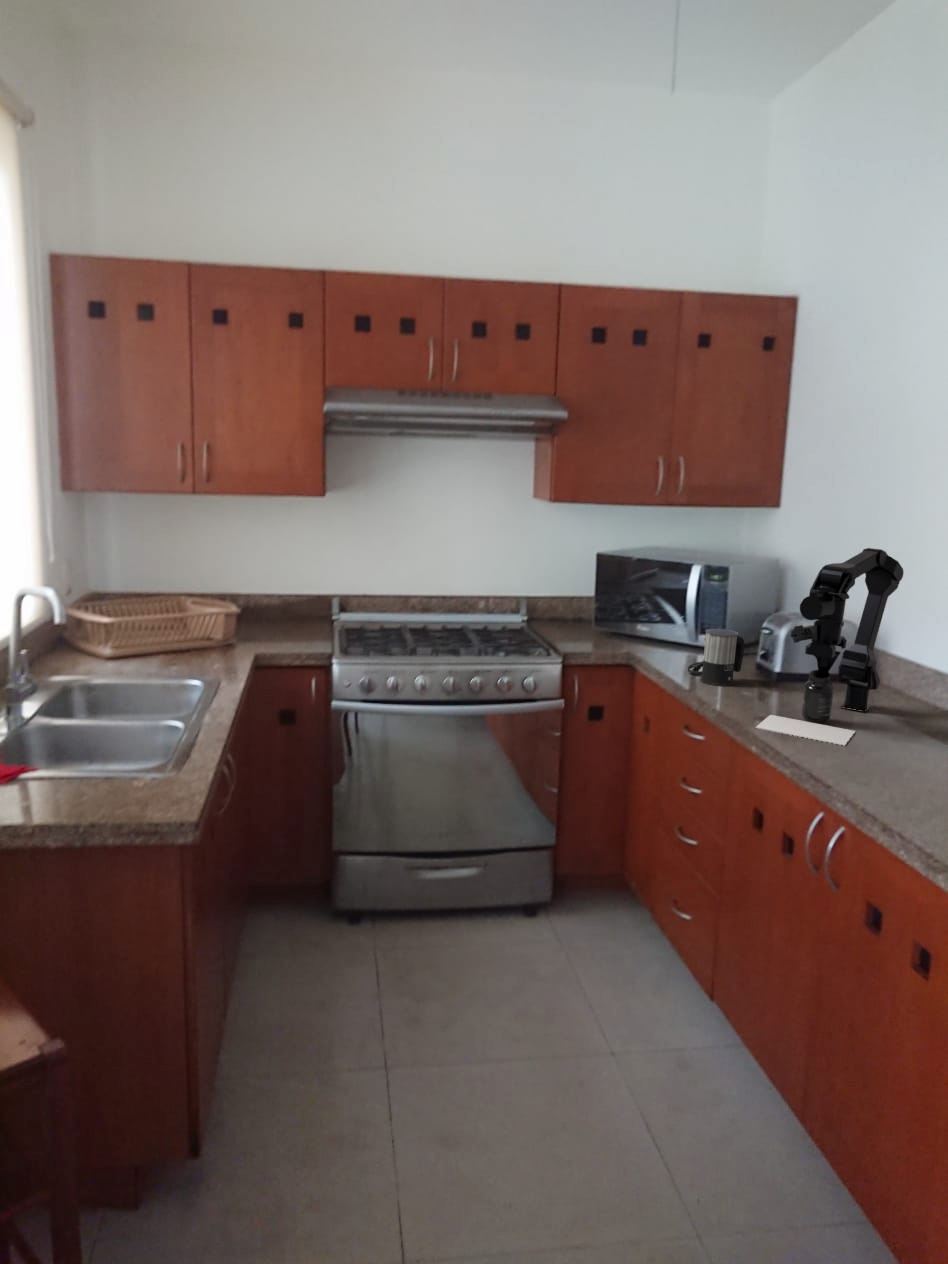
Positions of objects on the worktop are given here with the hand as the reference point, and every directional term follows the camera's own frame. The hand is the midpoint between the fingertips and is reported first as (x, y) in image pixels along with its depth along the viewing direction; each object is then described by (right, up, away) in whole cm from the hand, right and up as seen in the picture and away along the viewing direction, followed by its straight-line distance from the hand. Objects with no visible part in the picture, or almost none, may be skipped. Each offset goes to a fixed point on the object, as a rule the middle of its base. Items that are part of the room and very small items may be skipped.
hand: (821, 679), depth 227 cm
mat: (-7, -12, -9) cm, 16 cm away
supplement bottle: (-1, -10, +1) cm, 10 cm away
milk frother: (-18, -2, +39) cm, 43 cm away
